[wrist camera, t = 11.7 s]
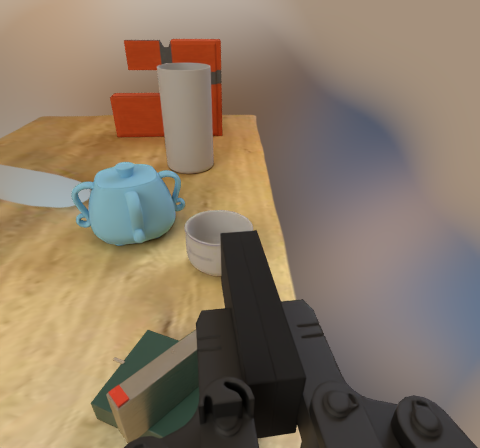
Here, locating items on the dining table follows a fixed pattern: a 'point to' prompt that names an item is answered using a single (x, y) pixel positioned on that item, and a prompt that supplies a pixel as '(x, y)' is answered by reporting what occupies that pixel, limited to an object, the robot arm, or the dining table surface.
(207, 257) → the teacup
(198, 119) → the cylinder vase
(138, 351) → the green block
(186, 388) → the red-tipped metal bar
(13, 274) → the dining table surface
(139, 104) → the clamp
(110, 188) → the decorative pot
